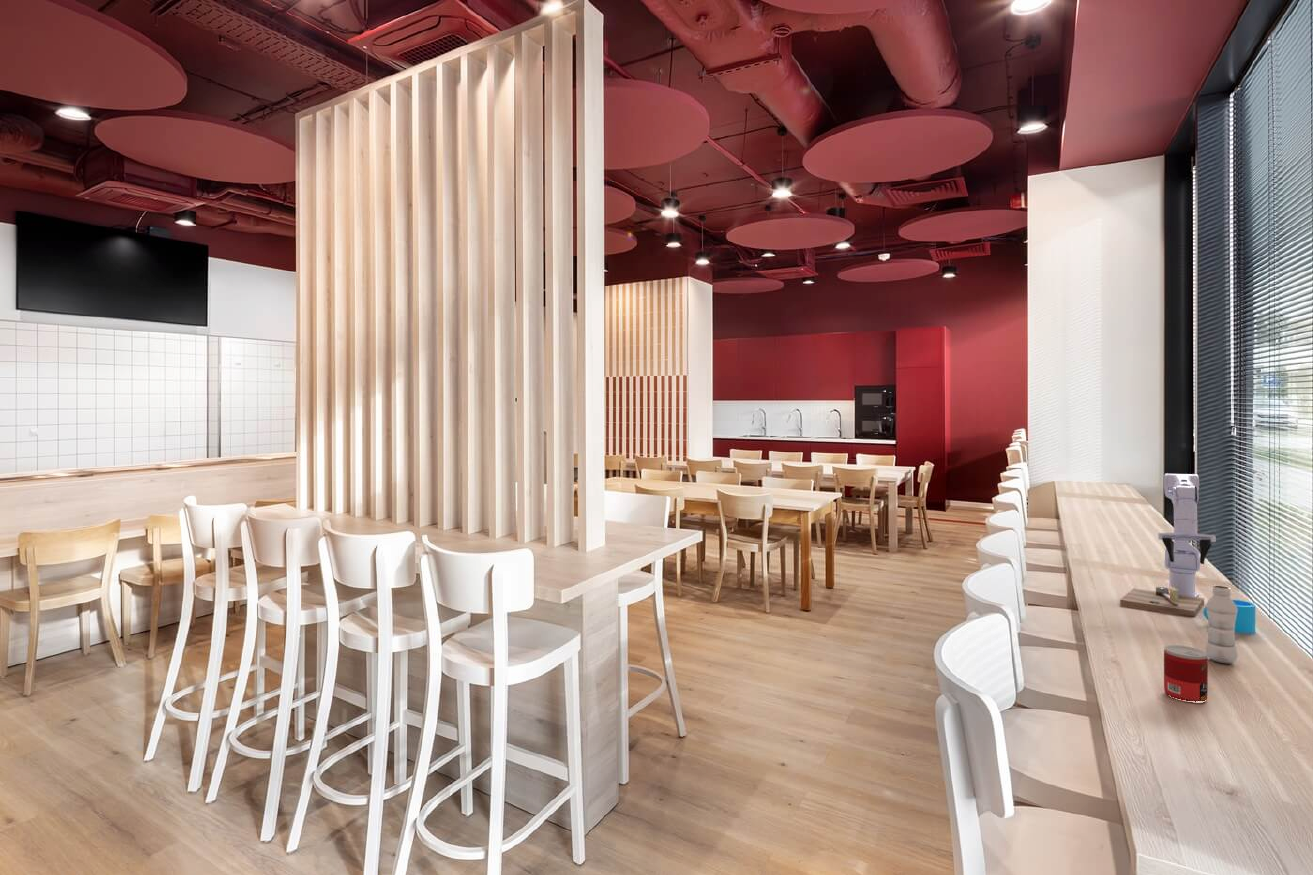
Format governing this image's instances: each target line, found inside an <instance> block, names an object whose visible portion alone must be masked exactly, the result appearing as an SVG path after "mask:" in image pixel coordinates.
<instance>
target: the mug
mask: <svg viewBox="0 0 1313 875" xmlns="http://www.w3.org/2000/svg"><path fill="white" fill-rule="evenodd" d="M1231 599H1232V598H1231ZM1232 601H1233V602H1234V603H1235V605H1236V606H1237V609H1238V610H1237V616H1236V621H1235V629H1234V630H1235V632H1237V633H1236V634H1243V633H1248V634H1249V633H1252V634H1255V633H1256V604H1255V603H1253V602H1250V601H1246V600H1239V599H1232ZM1203 616H1204V617H1205V619H1206V620H1207V621H1208V616H1207V609H1206V606H1205V607H1204V609H1203ZM1248 634H1247V635H1248ZM1249 635H1250V634H1249Z"/></svg>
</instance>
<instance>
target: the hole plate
mask: <svg viewBox="0 0 1313 875" xmlns="http://www.w3.org/2000/svg"><path fill="white" fill-rule="evenodd" d="M1169 595H1170V593H1169ZM1178 601H1179V604H1178V605H1175V604H1173V603H1172V602H1171V601H1169V600H1168V599H1167V598H1165V597H1164V596H1163V595H1158V594H1156V590H1155V591H1154V590H1149V589H1148V590H1147V589H1143V588H1142V589H1141V588H1132V589H1131V590H1130V591H1128V592H1127V593H1126V594H1125V595H1123V597H1122V598H1120V600H1119V603H1120V604H1119V606H1121V605H1122V606H1121V607H1127V606H1128V607H1129V608H1134V609H1139V610H1140V609H1141V610H1142V609H1143V610H1147V611H1153V612H1159V613H1166V614H1173V615H1177V616H1178V615H1179V616H1184V617H1185V616H1186V617H1192V618H1196V616H1197V615H1198V613H1199V612H1200V611H1201V609H1202V607H1203V606H1204V605H1205V598H1204V597H1198V596H1197V597H1192V596H1185V595H1178Z"/></svg>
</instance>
